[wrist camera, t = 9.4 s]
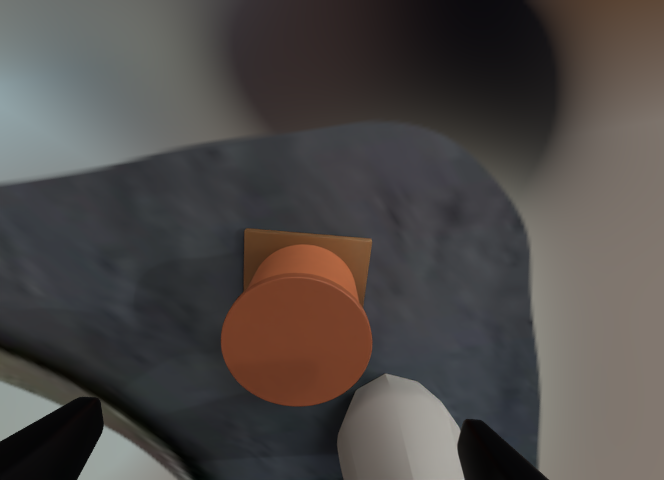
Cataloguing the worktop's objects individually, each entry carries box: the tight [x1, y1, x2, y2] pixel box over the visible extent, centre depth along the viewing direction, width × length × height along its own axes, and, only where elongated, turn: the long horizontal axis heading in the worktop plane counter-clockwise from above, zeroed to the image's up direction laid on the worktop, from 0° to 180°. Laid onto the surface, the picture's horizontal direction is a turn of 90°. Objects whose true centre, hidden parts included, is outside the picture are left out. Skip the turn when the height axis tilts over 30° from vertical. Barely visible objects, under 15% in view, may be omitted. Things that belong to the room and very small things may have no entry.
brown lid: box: [221, 244, 372, 406], centre depth 13 cm, size 5×5×4 cm
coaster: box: [244, 228, 372, 308], centre depth 15 cm, size 6×6×1 cm
